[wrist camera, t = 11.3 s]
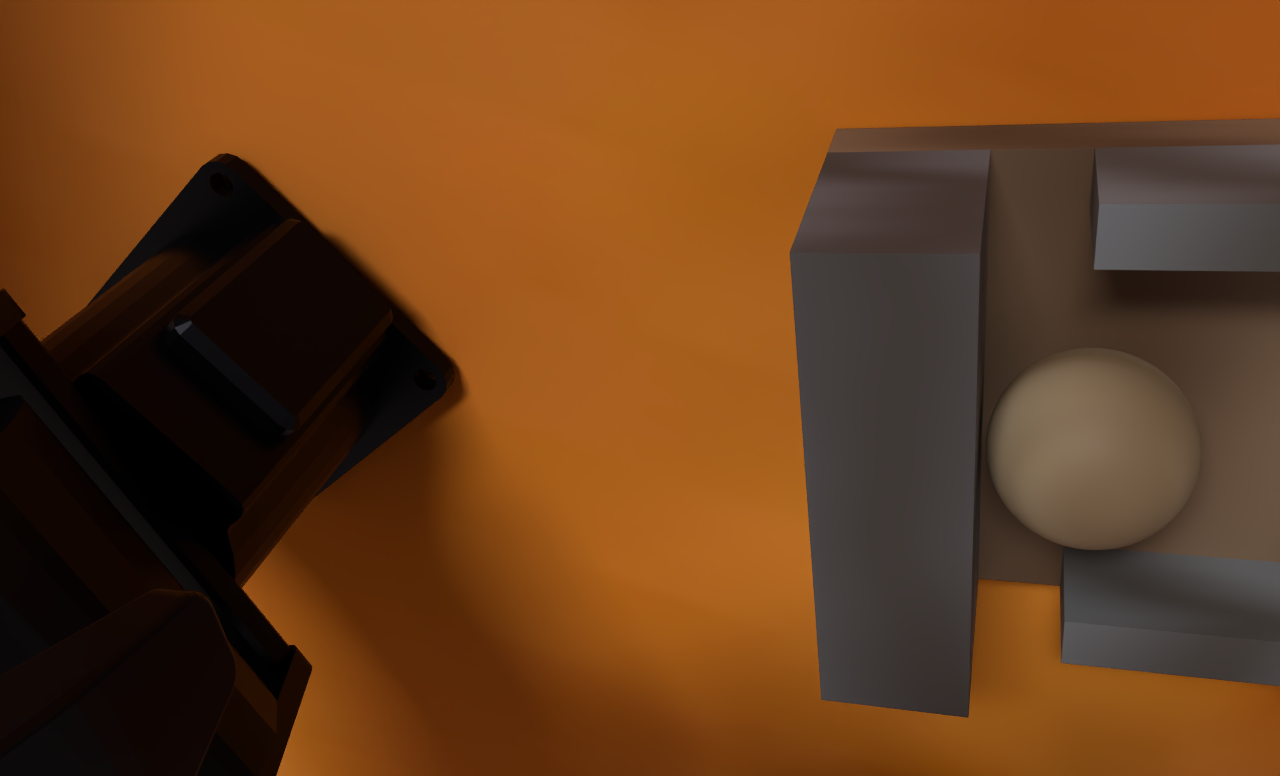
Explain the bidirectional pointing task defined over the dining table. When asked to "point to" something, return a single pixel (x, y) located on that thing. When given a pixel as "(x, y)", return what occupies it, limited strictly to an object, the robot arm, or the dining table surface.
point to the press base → (1042, 397)
